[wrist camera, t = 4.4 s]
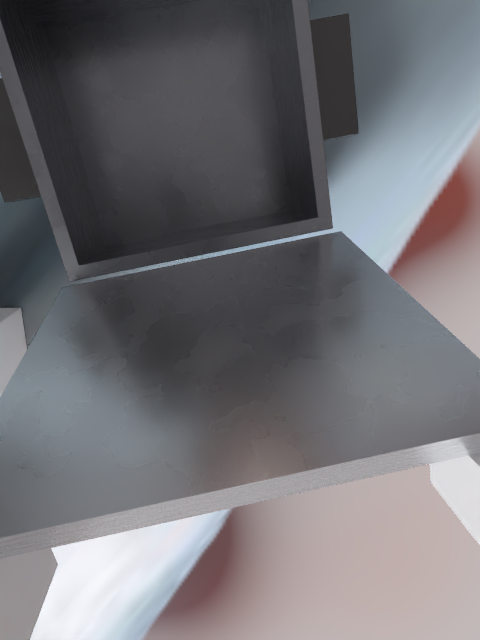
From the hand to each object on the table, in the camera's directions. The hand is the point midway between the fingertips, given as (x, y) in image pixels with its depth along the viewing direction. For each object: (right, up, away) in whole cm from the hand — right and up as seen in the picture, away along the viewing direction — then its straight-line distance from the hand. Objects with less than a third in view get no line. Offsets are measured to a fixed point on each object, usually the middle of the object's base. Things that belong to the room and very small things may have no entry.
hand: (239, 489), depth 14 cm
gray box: (-4, +20, +17) cm, 26 cm away
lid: (-1, +5, +4) cm, 6 cm away
